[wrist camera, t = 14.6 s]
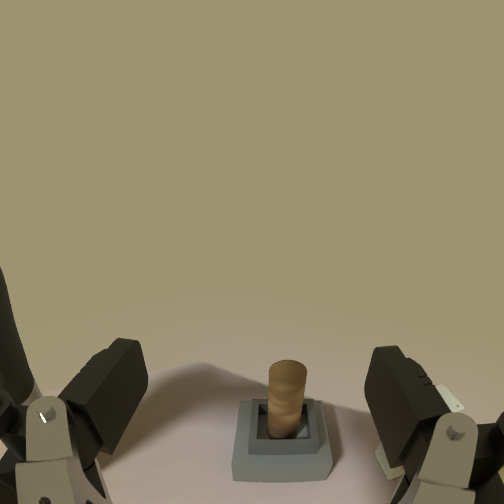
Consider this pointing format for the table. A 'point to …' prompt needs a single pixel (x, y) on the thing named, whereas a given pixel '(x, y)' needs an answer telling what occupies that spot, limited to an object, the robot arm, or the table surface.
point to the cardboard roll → (285, 399)
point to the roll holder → (281, 446)
